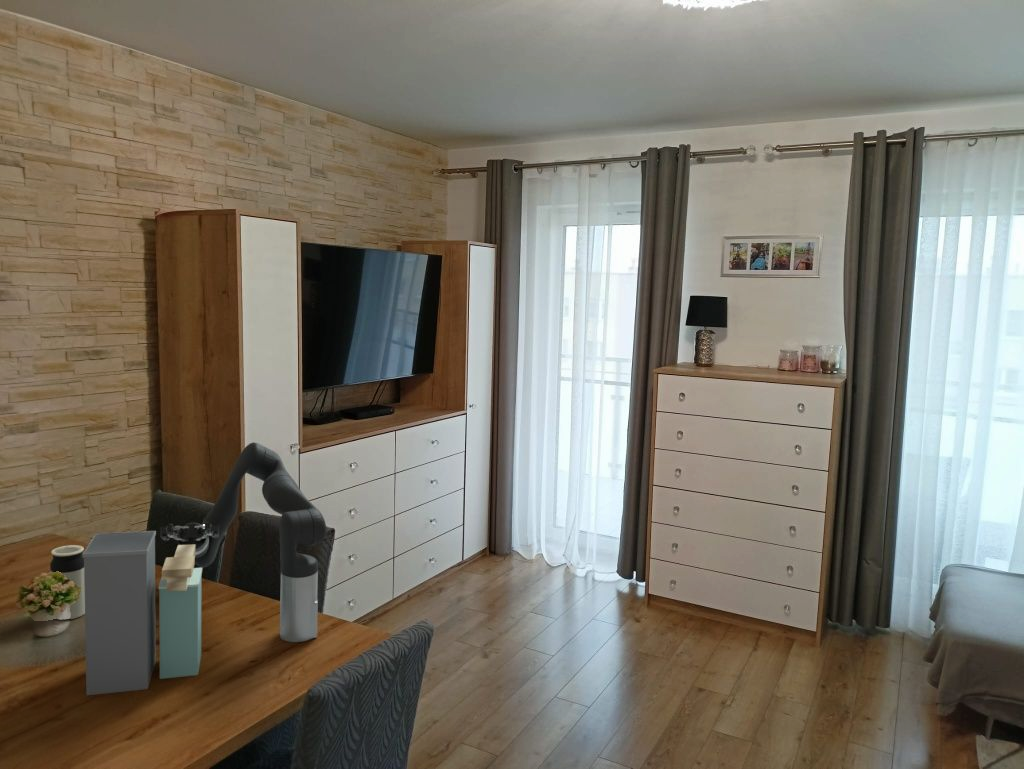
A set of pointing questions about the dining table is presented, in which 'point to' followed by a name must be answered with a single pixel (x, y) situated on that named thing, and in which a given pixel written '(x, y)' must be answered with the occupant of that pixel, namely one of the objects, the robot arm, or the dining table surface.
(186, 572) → the beige stepped bar
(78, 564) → the travel mug
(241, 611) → the dining table surface
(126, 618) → the stand
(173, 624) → the tall pale green pillar
